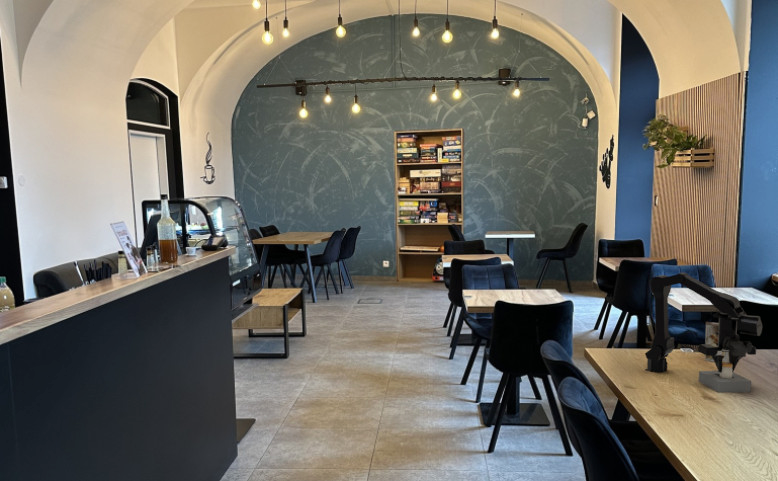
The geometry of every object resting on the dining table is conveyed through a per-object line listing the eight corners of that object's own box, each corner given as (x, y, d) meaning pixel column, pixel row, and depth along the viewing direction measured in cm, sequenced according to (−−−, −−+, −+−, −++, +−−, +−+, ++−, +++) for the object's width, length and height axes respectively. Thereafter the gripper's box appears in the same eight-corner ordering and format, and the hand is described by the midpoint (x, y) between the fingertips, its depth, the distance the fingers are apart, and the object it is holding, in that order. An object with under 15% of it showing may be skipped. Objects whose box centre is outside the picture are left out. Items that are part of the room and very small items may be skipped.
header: (718, 395, 201) (718, 381, 201) (698, 383, 213) (699, 371, 213) (750, 394, 202) (751, 380, 201) (729, 383, 213) (729, 370, 213)
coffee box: (728, 359, 242) (730, 323, 241) (729, 364, 237) (731, 326, 235) (704, 357, 247) (705, 321, 245) (704, 361, 241) (706, 324, 240)
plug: (723, 386, 205) (724, 365, 204) (716, 383, 209) (717, 361, 208) (734, 386, 205) (735, 364, 204) (727, 382, 209) (728, 361, 208)
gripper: (716, 336, 197) (714, 380, 198) (767, 335, 198) (765, 378, 199) (697, 329, 208) (696, 370, 209) (746, 328, 209) (744, 369, 210)
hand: (725, 372), depth 207 cm, fingers closed on plug, 4 cm apart
